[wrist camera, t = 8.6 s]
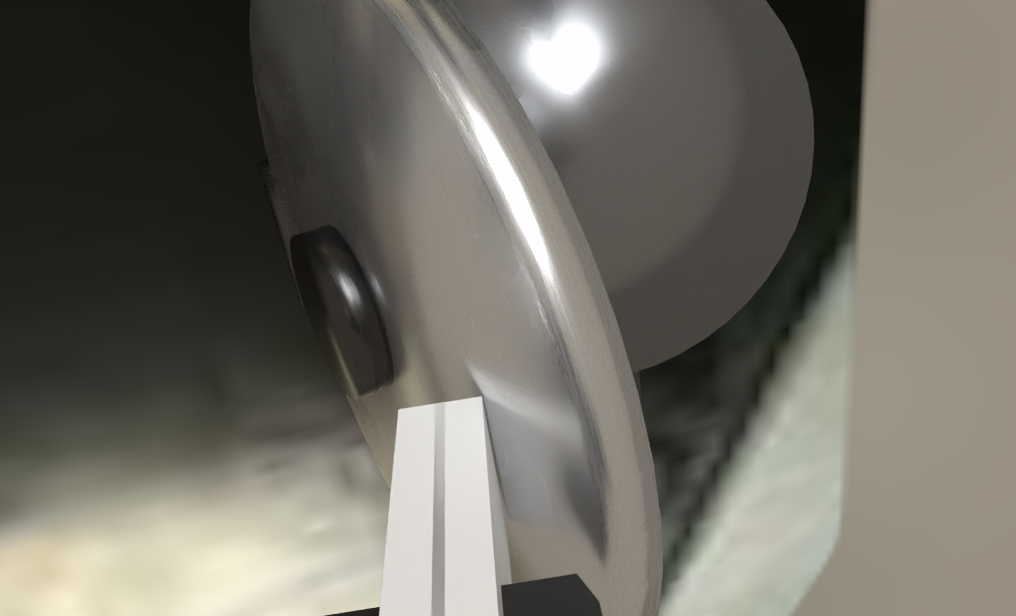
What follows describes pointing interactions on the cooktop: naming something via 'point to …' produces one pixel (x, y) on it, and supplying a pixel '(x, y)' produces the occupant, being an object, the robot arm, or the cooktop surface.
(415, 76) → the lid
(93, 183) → the cooktop surface
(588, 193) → the pot
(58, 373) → the cooktop surface
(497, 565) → the robot arm
